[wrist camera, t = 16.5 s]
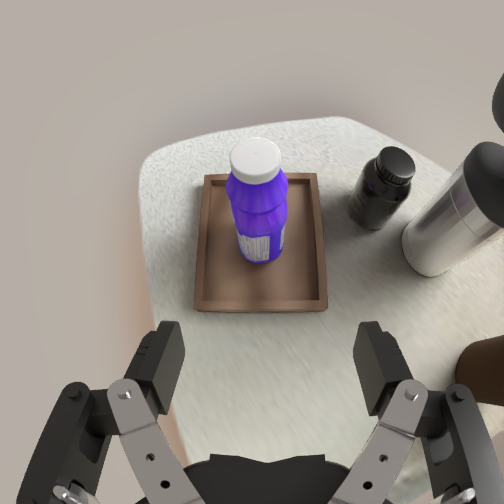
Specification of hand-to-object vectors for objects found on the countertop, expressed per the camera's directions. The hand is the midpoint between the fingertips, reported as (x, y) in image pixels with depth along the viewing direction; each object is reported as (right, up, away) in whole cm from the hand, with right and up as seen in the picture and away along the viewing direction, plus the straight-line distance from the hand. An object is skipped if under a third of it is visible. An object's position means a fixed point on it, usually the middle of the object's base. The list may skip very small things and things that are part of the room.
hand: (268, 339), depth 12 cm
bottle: (0, +5, +26) cm, 26 cm away
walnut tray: (+1, +5, +27) cm, 27 cm away
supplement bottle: (+17, +10, +28) cm, 34 cm away
